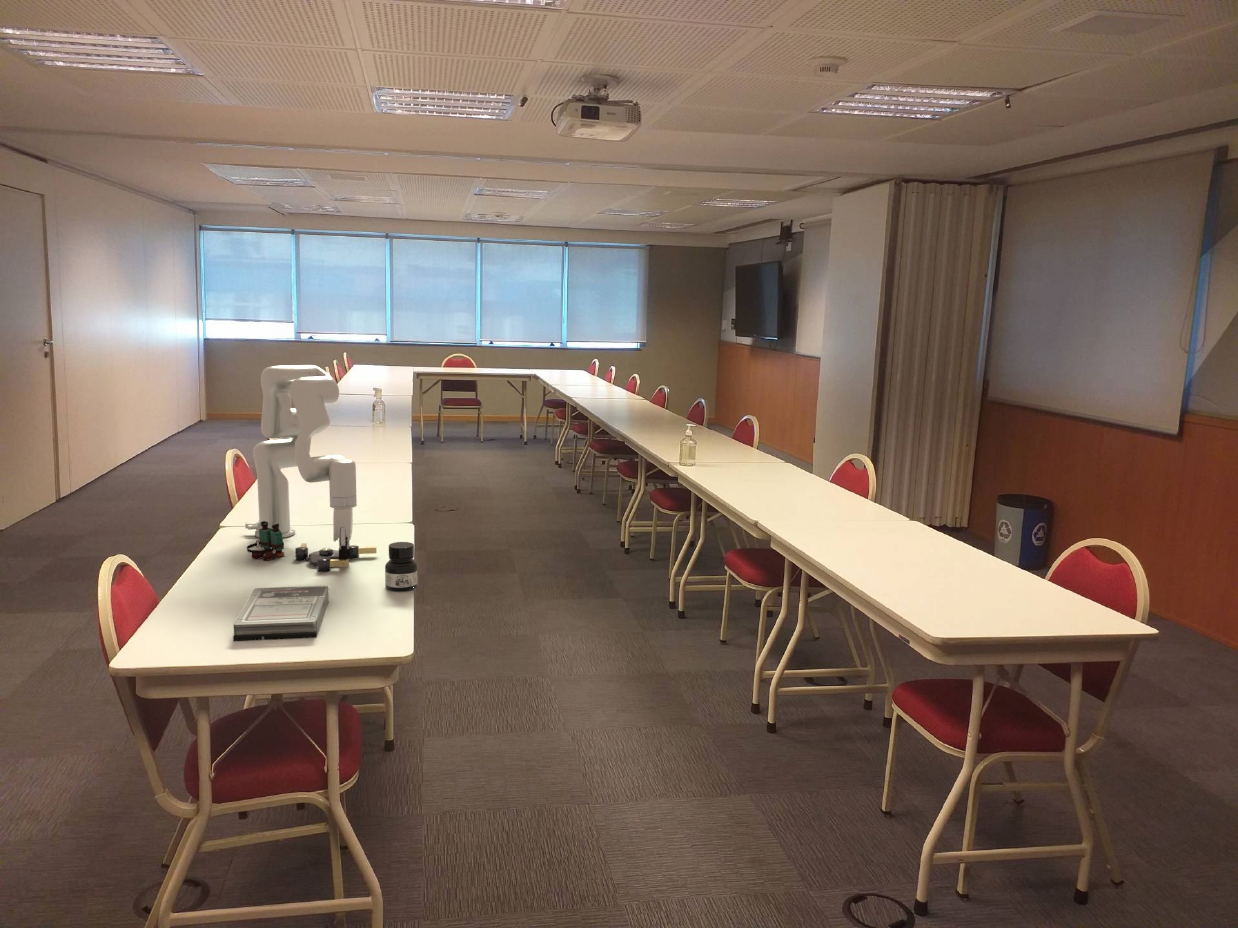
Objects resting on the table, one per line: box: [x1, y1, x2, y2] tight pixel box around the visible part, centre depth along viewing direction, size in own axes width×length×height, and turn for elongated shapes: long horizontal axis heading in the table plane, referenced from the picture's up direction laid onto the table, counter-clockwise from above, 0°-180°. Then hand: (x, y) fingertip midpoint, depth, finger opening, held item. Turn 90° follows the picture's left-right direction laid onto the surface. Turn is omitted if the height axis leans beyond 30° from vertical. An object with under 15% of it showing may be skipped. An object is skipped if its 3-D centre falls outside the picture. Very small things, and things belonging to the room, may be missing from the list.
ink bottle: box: [384, 541, 419, 592], centre depth 247 cm, size 10×9×12 cm
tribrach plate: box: [305, 547, 339, 568], centre depth 268 cm, size 12×11×4 cm
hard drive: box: [232, 585, 330, 642], centre depth 221 cm, size 18×27×4 cm
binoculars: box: [246, 521, 285, 562], centre depth 271 cm, size 9×11×10 cm
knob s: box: [317, 558, 350, 573], centre depth 261 cm, size 9×4×3 cm, turn 103°
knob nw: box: [295, 542, 309, 562], centre depth 274 cm, size 9×4×3 cm, turn 13°
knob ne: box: [349, 544, 377, 560], centre depth 275 cm, size 9×4×3 cm, turn 103°
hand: (344, 561), depth 266 cm, fingers closed
